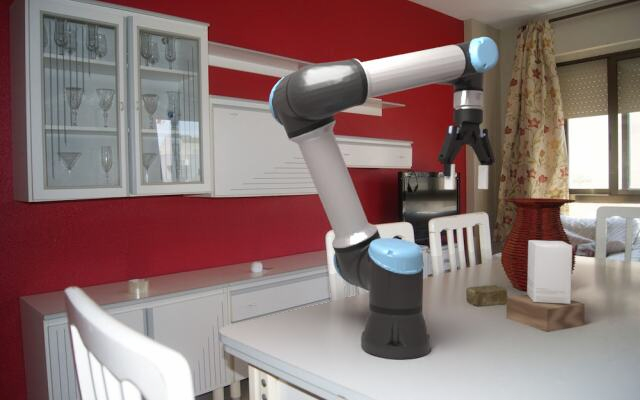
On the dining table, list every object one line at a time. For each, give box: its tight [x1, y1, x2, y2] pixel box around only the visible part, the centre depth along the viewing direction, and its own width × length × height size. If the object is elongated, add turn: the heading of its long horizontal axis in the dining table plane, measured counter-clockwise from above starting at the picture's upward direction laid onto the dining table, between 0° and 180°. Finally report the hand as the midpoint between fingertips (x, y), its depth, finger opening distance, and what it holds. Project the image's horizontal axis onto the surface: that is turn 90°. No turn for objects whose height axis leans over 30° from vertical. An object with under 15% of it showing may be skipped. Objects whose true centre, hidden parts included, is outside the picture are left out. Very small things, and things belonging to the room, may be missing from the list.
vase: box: [500, 197, 577, 292], centre depth 166 cm, size 23×24×30 cm
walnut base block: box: [505, 294, 585, 333], centre depth 129 cm, size 13×13×6 cm
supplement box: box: [526, 240, 573, 304], centre depth 129 cm, size 9×9×15 cm
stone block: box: [465, 284, 508, 307], centre depth 148 cm, size 6×12×5 cm, turn 108°
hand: (466, 189), depth 133 cm, fingers open, 13 cm apart
